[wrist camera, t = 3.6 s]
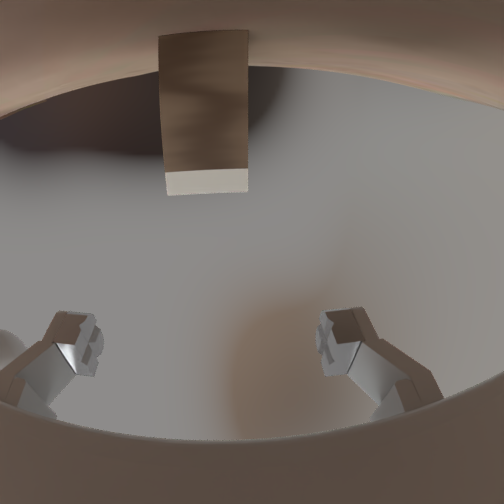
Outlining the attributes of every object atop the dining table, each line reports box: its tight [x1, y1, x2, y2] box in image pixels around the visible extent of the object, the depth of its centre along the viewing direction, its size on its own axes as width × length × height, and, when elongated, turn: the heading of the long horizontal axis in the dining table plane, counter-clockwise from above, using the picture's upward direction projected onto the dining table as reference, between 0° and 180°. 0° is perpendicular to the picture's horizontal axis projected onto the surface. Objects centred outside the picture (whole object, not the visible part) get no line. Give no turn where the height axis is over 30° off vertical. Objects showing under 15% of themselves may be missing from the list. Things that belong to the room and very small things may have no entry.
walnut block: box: [158, 30, 248, 195], centre depth 17 cm, size 5×5×10 cm
